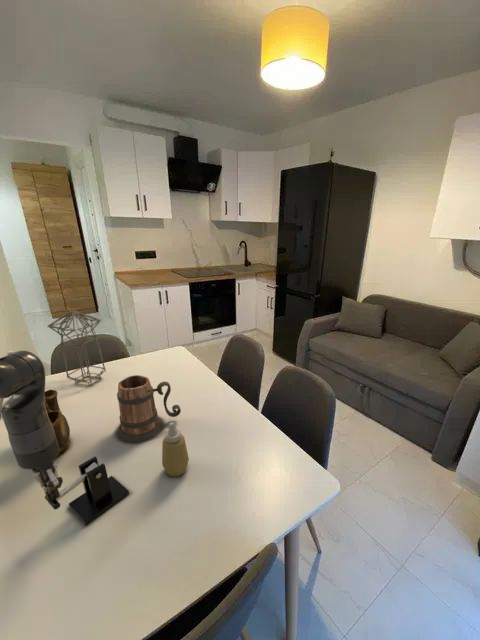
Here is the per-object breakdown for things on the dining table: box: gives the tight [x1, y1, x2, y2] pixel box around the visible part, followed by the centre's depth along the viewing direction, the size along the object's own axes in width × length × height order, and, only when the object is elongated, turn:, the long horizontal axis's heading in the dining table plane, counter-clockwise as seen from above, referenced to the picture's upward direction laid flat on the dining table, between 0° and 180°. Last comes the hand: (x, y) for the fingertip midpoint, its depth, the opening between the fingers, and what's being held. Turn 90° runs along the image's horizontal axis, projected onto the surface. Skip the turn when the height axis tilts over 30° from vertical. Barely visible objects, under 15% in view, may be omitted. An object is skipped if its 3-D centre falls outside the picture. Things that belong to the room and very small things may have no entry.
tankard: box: [115, 374, 182, 444], centre depth 107 cm, size 24×17×20 cm
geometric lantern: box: [47, 310, 107, 387], centre depth 132 cm, size 16×16×35 cm
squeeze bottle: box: [161, 421, 190, 477], centre depth 88 cm, size 8×8×18 cm
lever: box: [44, 462, 98, 510], centre depth 73 cm, size 12×5×2 cm, turn 145°
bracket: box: [68, 456, 130, 526], centre depth 78 cm, size 12×9×13 cm
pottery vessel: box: [44, 389, 71, 456], centre depth 94 cm, size 25×11×20 cm, turn 37°
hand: (53, 497), depth 70 cm, fingers closed
